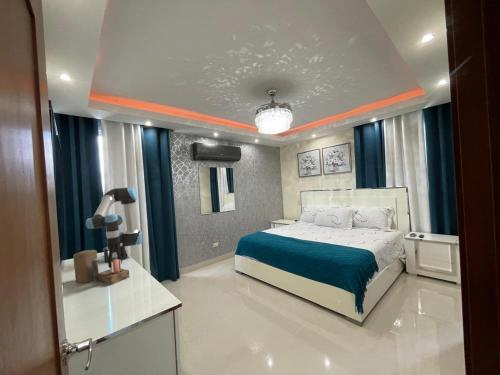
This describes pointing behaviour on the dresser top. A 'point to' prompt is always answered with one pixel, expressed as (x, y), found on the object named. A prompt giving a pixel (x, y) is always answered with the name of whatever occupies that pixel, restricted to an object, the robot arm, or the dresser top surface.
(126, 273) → the socket station
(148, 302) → the dresser top surface
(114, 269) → the peg
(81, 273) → the wooden block
